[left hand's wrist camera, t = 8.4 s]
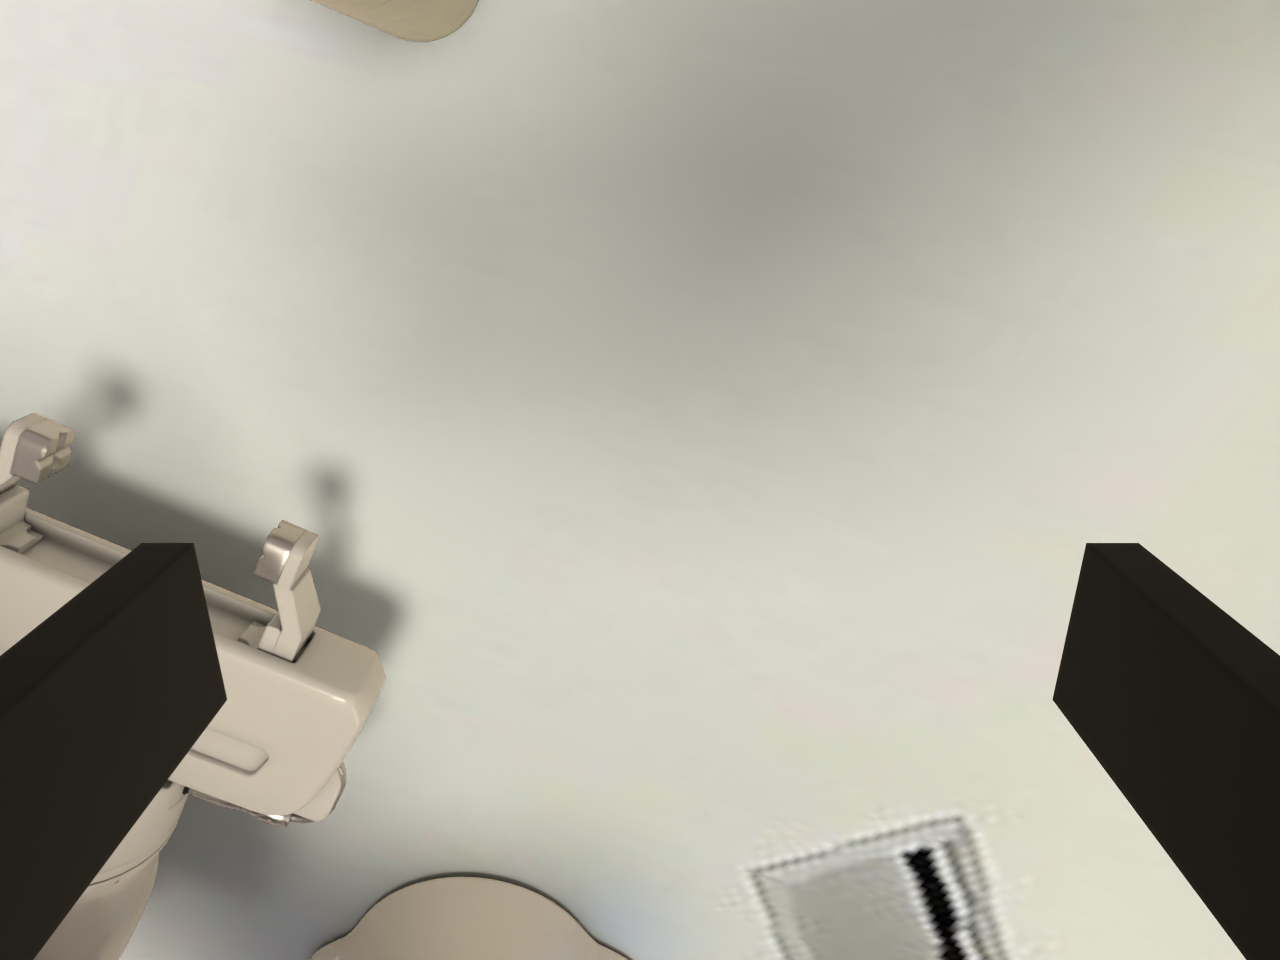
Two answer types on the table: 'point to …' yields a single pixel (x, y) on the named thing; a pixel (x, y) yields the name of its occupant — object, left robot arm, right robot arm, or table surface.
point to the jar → (407, 16)
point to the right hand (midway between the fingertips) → (172, 480)
